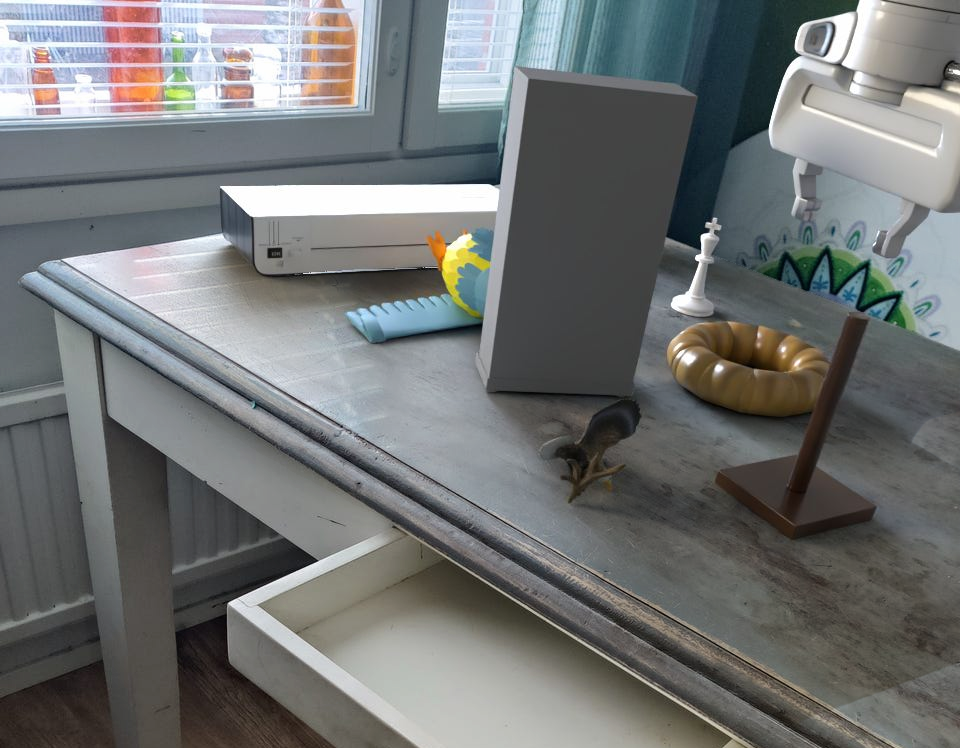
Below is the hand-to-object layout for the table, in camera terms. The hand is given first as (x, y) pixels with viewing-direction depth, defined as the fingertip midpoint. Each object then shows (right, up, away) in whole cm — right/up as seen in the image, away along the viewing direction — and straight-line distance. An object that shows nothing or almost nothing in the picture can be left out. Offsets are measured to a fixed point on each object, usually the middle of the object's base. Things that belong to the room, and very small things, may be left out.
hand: (842, 236), depth 83 cm
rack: (-6, -23, -4) cm, 24 cm away
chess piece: (-6, +4, +30) cm, 31 cm away
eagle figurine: (-22, -22, -6) cm, 32 cm away
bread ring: (-4, -8, +12) cm, 15 cm away
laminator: (-42, +11, +32) cm, 54 cm away
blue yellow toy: (-31, -1, +19) cm, 36 cm away
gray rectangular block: (-24, -10, +9) cm, 28 cm away
